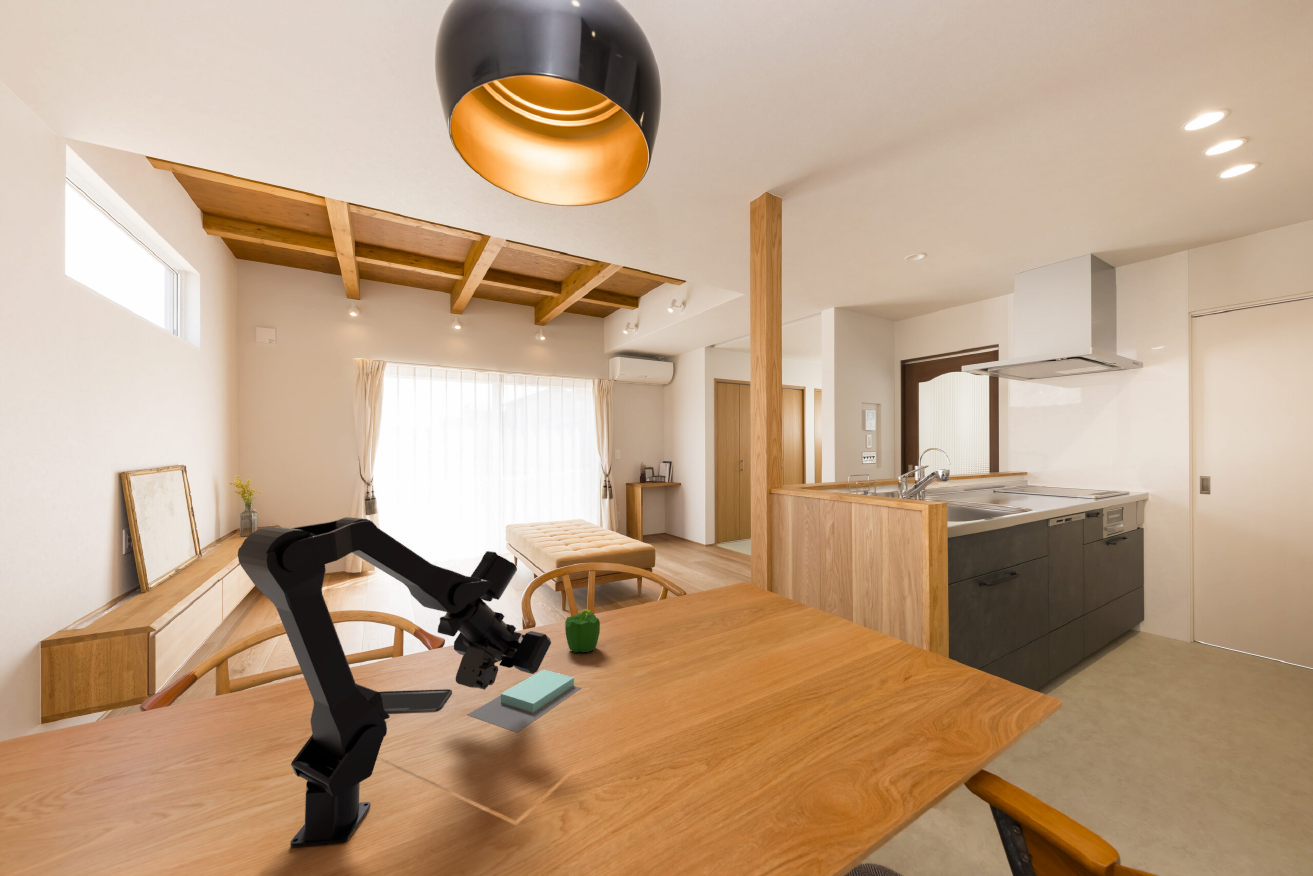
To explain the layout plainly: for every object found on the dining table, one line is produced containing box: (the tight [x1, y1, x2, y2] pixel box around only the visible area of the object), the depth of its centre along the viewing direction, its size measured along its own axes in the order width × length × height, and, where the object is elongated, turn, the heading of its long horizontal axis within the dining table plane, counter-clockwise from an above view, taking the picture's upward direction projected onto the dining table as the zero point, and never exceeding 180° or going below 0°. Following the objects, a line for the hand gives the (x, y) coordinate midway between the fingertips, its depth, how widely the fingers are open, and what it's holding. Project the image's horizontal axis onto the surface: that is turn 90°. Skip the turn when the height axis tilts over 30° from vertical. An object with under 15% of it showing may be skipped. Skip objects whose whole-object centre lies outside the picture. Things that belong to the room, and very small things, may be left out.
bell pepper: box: [564, 608, 601, 653], centre depth 119 cm, size 8×8×10 cm
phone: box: [378, 688, 453, 714], centre depth 92 cm, size 8×1×15 cm
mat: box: [466, 685, 582, 734], centre depth 93 cm, size 18×12×1 cm, turn 152°
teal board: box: [500, 668, 575, 713], centre depth 96 cm, size 2×8×12 cm
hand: (523, 665), depth 92 cm, fingers closed
